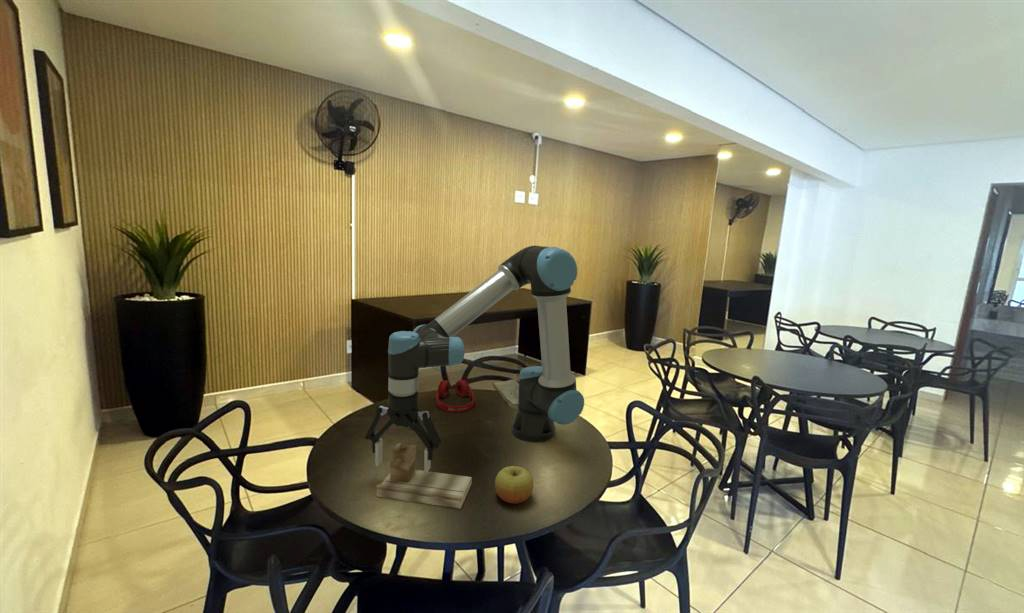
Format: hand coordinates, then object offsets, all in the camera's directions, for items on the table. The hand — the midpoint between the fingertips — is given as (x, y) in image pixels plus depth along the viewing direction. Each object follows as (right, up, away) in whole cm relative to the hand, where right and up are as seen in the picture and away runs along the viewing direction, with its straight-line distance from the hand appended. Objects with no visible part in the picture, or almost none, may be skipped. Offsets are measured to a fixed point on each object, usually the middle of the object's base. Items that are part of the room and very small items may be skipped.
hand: (402, 467), depth 116 cm
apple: (+29, -7, -3) cm, 30 cm away
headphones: (+6, +4, +58) cm, 58 cm away
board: (+6, -5, -2) cm, 9 cm away
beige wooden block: (0, -3, -1) cm, 3 cm away
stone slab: (+31, +4, +66) cm, 73 cm away
